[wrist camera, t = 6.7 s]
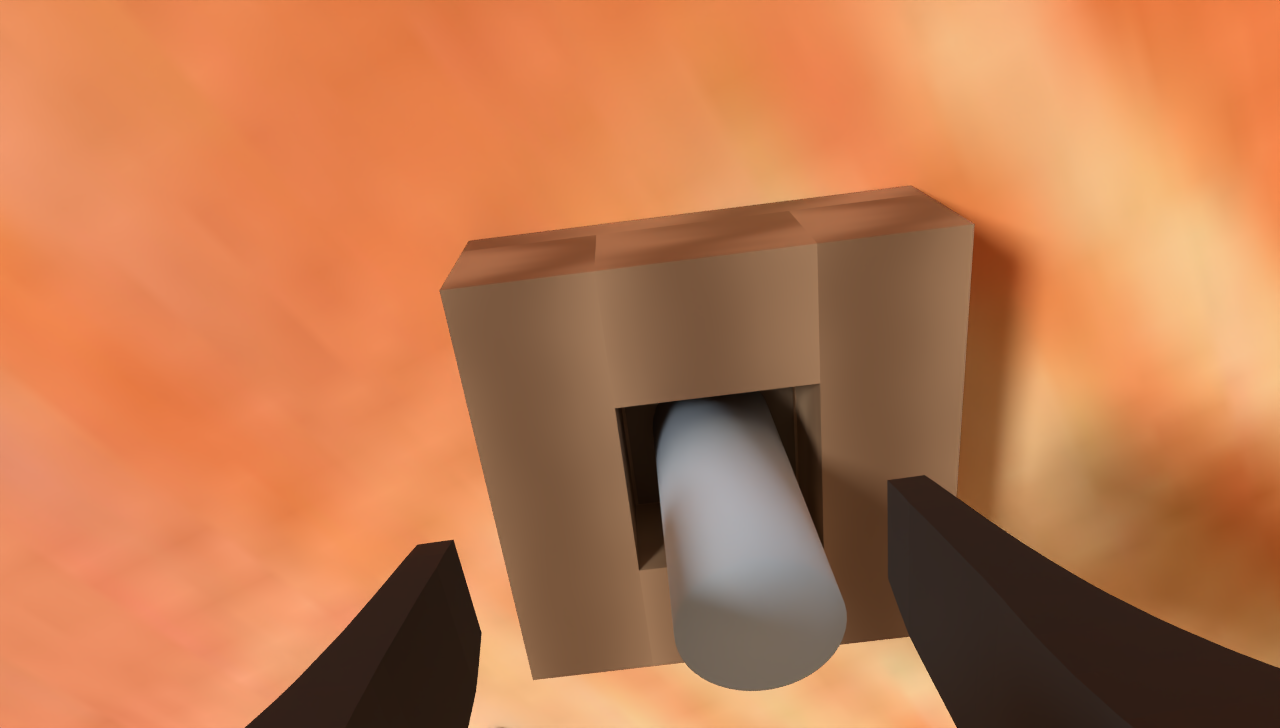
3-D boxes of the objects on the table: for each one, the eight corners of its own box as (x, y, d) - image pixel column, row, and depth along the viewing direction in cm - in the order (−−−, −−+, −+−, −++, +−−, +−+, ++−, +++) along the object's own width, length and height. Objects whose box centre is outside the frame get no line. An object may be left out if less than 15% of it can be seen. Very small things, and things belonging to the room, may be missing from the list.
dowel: (761, 361, 22) (837, 543, 14) (777, 461, 23) (854, 673, 16) (641, 385, 22) (658, 577, 15) (665, 484, 23) (691, 703, 16)
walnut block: (910, 185, 21) (974, 224, 17) (900, 544, 26) (947, 632, 22) (469, 241, 21) (439, 290, 17) (543, 586, 26) (533, 679, 23)
